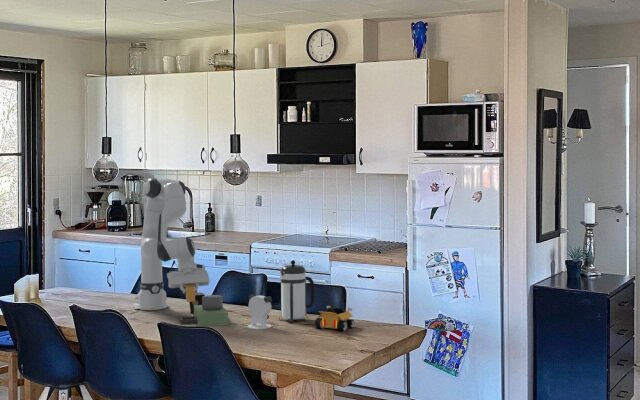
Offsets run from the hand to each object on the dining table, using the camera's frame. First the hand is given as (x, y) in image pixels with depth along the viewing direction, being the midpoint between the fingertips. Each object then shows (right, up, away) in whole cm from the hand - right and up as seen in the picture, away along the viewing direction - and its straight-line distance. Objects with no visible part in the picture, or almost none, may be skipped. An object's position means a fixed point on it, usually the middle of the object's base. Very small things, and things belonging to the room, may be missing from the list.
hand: (190, 292), depth 413 cm
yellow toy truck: (+71, -15, -16) cm, 74 cm away
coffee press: (+52, -14, +4) cm, 54 cm away
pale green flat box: (+6, -15, +3) cm, 16 cm away
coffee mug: (+1, -14, +25) cm, 28 cm away
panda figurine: (+35, -15, -11) cm, 40 cm away
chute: (0, -4, +1) cm, 4 cm away
